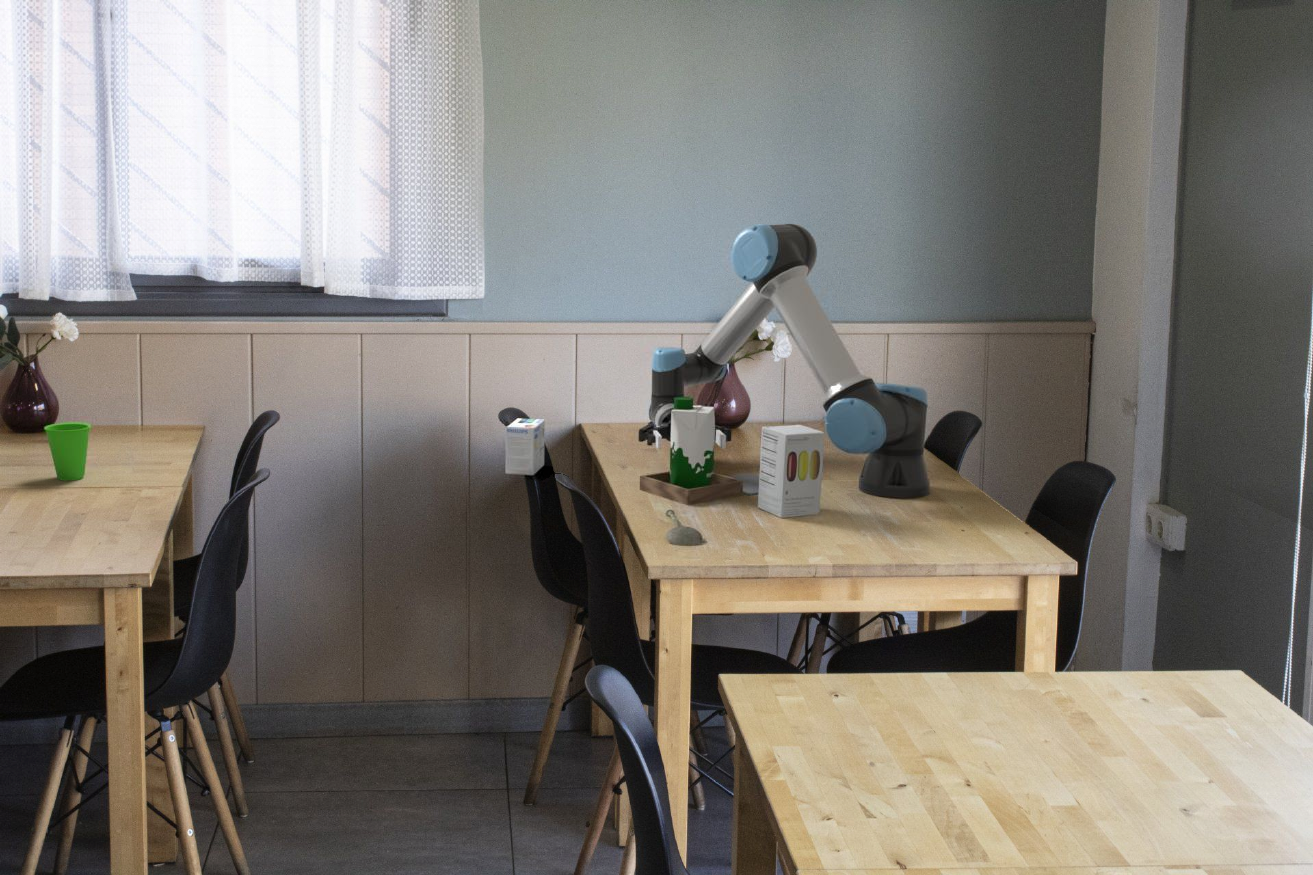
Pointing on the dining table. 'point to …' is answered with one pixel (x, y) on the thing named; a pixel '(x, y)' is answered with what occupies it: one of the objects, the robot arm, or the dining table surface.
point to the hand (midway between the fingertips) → (692, 442)
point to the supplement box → (790, 470)
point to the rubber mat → (748, 482)
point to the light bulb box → (525, 446)
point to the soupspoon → (682, 533)
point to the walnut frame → (716, 490)
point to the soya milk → (691, 444)
